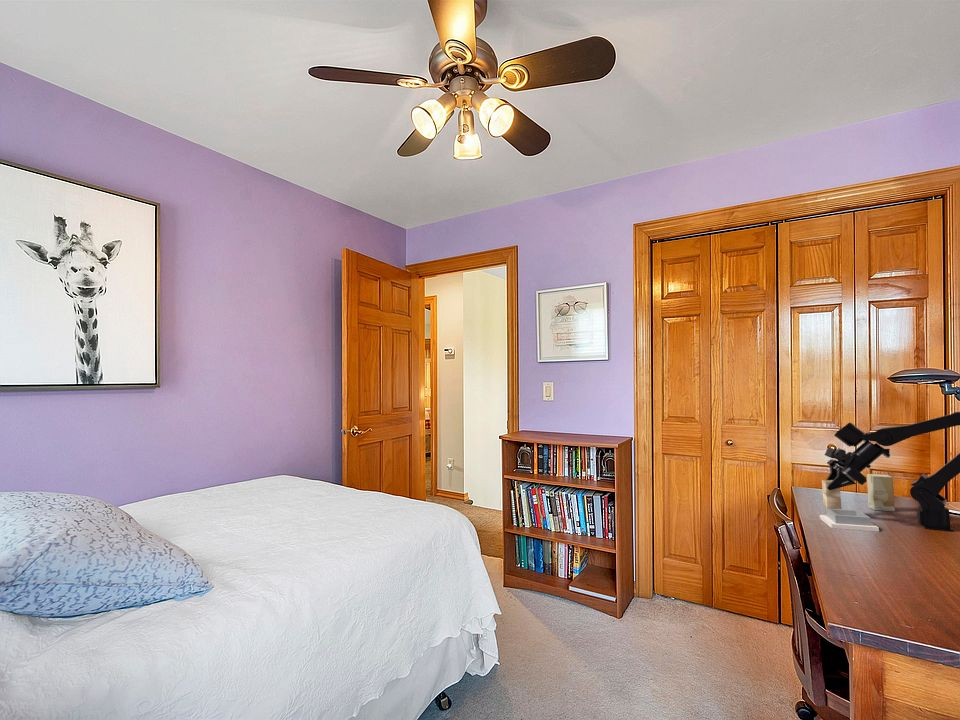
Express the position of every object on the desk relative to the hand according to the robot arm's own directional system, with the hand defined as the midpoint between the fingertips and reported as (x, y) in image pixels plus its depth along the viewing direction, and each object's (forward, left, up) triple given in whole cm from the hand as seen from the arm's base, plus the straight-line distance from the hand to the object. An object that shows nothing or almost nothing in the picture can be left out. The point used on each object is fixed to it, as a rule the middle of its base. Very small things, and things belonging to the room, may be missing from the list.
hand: (826, 487), depth 159 cm
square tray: (-3, +10, -9) cm, 14 cm away
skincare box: (-18, -16, -10) cm, 26 cm away
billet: (-1, 0, -7) cm, 7 cm away
